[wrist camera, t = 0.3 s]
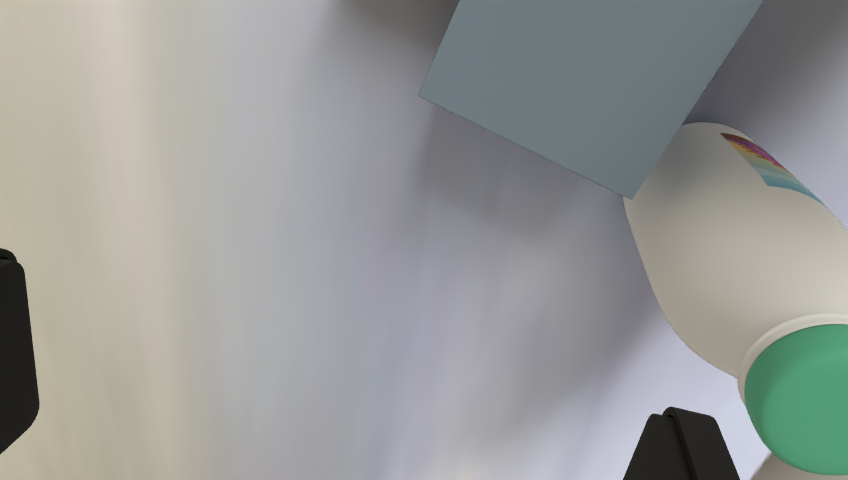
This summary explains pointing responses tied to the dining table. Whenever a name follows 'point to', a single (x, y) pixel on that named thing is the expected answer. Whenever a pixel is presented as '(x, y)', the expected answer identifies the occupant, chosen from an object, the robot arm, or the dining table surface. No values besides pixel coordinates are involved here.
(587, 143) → the dispenser
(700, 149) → the milk bottle
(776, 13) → the dining table surface
